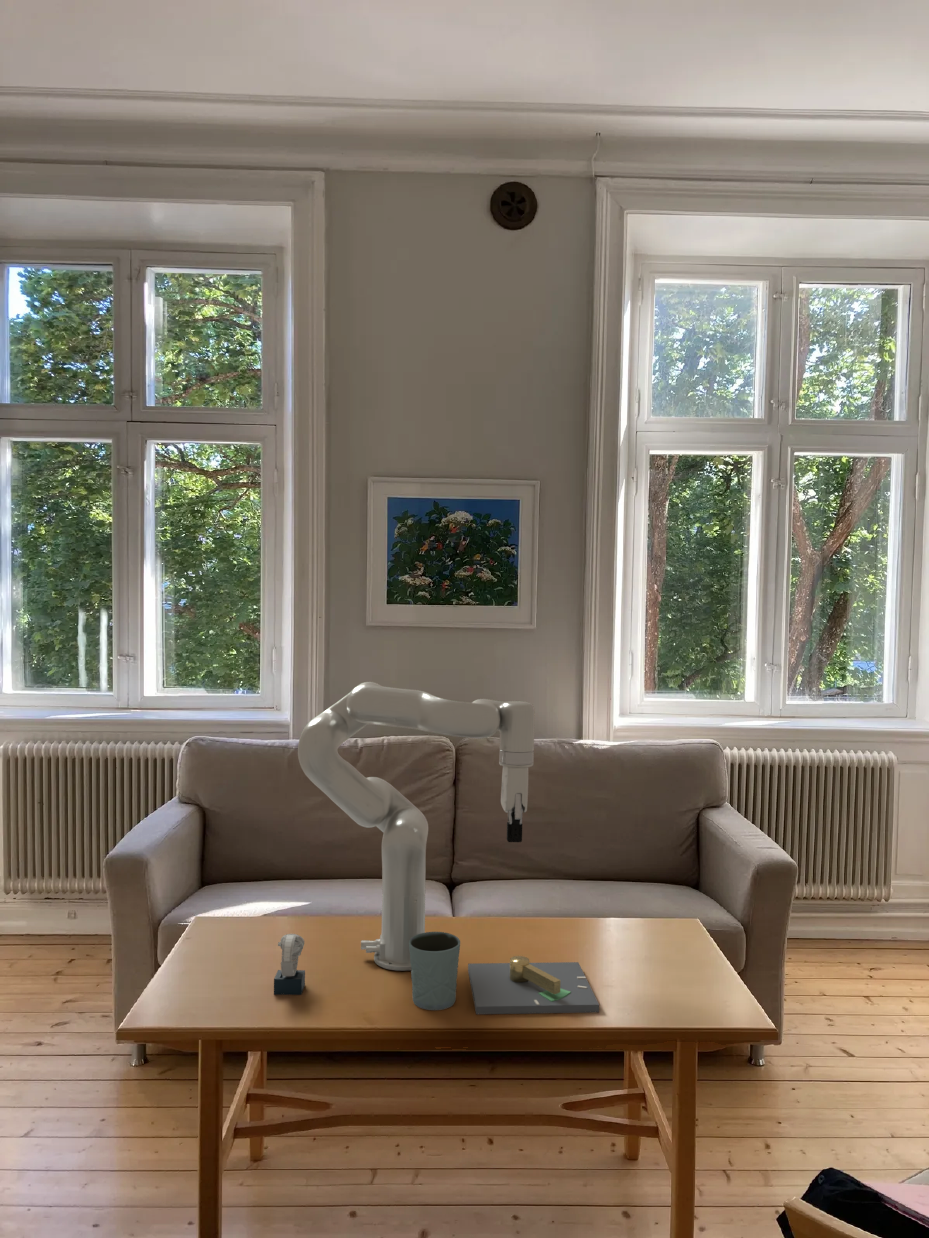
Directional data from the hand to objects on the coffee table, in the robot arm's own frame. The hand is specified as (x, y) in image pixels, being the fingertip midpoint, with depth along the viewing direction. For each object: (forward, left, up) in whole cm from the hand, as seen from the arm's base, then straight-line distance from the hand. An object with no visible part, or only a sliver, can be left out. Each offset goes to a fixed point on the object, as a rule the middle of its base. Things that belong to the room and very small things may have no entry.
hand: (514, 840), depth 193 cm
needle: (+3, -16, -25) cm, 30 cm away
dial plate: (+2, -14, -27) cm, 30 cm away
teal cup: (-18, -18, -27) cm, 37 cm away
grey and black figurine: (-47, -12, -27) cm, 56 cm away
